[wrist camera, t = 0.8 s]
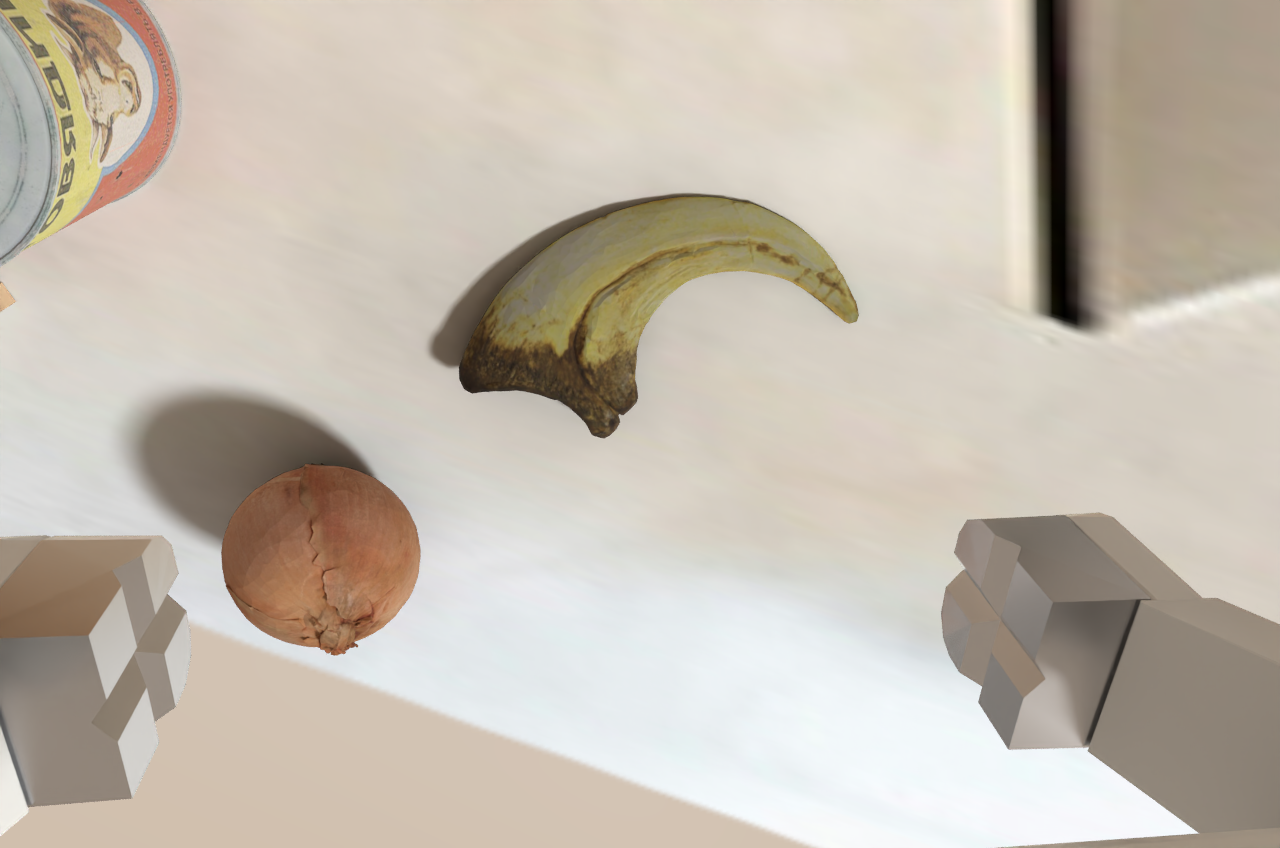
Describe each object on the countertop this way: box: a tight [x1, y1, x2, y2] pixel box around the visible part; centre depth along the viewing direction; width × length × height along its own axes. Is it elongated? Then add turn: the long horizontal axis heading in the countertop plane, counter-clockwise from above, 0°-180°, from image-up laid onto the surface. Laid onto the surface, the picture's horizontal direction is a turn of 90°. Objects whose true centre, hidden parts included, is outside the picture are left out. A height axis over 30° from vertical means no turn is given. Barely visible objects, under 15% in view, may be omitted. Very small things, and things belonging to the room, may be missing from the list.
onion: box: [221, 463, 420, 655], centre depth 46 cm, size 10×9×10 cm
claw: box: [459, 197, 859, 438], centre depth 46 cm, size 20×10×3 cm, turn 113°
